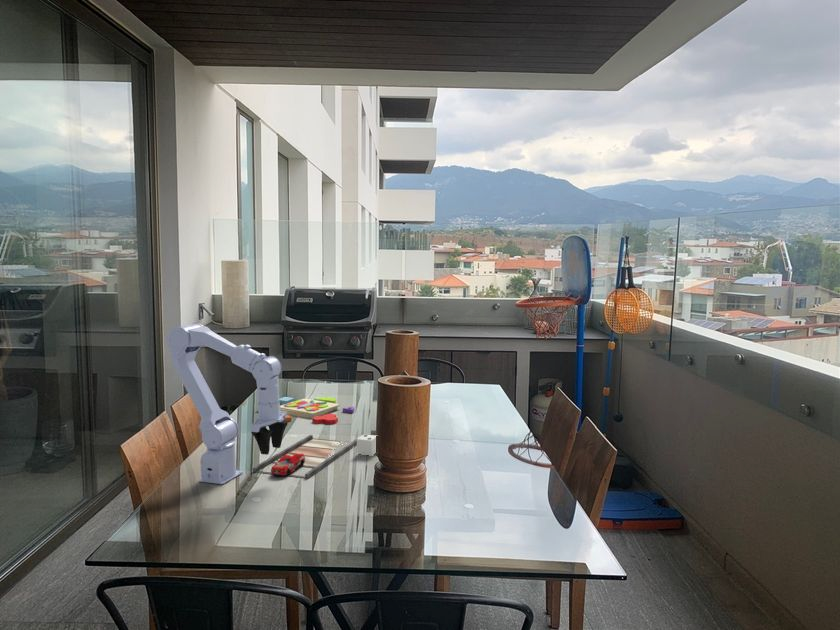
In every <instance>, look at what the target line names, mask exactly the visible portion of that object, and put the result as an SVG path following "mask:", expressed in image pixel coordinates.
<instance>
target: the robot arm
mask: <svg viewBox="0 0 840 630" xmlns="http://www.w3.org/2000/svg"><path fill="white" fill-rule="evenodd" d="M165 342H166V344H167V347H169V349H170V350H169V351H170V358H171V363H172V365H173V367H174V369H175V371H176V373H177V375H178V377H179V379H180V380H181V383H182V384H183V386H184V388H185V390H186V392H187V394H188V395H189V397H190V399H191V401H192V403H193V405H194V407H195V409H196V411H197V412H198V414H199V416H200V419H201V420H200V423H199V426H198V429H199V430H200V433H201V440H202V443H203V444H204V445H205V446H206V451H205V452H204V453H202V455H201V457H200V476H201V477H200V478H199V479H198V482H201V483H210V484H216V485H217V484H218V485H224V484H226V483H227V482H230V481H231V480H234V479H235V478H236V477H238V476H240V475H241V474H243V473H244V471H243V470H238V469H237V461H236V460H237V459H236V458H237V457H236V443H235V442H236V438H237V436H239V432H240V427H239V424H238V422H237V421H236V420H235V419H233V418H232V417H231V415H230V414H229V412H227V411H225V410H223V409H221V407H220V405H219V404H218V402H217V400H216V398H215V396H214V395H213V393H212V391H211V389H210V387H209V385H208V383H207V382H206V380H205V377H204V376H203V374H202V372H201V370H200V368H199V367H198V365H197V363H196V361H195V358H196V356H197V353H198V351H200V349H201V347H203V346H205V347H207V348H209V349H212V350H214V351H217V352H219V353H221V354H223V355H224V356H225V355H226V356H227V357H230V360H231V362H232V364H234V365H235V366H238V367H240V368H241V369H243V370H246V371H247V372H249V373H251V374H252V376H253V378H254V379H255V381H256V389H257V390H256V392H257V393H256V395H257V414H258V418H257V419H256V420H255V421H254V422H253V423H251V424H250V433H251V434H252V435H253V437H254V439H255V441H256V444H257V445H258V449H259V452H260V454H261V455H269V454H270V443H271V445H272V446H271V447H272V448H274V449H275V448H276V449H280V448H281V446H282V441H283V437H284V433H285V430H286V428H287V426H288V425H289V424H288V423H289V421H283V420H284V419H286V418H287V411H280V406H281V404H280V403H279V399H280V385H279V383H280V382H279V375H281V372H282V369H283V367H282V363H281V361H280V360H279V359H278V358H277V357H276V356H274V355H269V356H267V355H266V353H263V352H262V353H260V352H259V351H257V350H255V349H252V348H251V347H252V346H251V345H250V344H239V345H236V344H235V343H233V342H231V341H229V340H228V339H226V338H224V337H223V336H221V335H219V334H218V333H216V332H214V331H212V330H211V329H210V328H209V327H208V326H205V325H202V324H201V323H199V322H198V323H197V322H193V323H191V324H187V325H182V326H175V327H172V328H171V329H170V330H169V332H168V334H167V338H166V340H165ZM267 427H268V428H267Z"/></svg>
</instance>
